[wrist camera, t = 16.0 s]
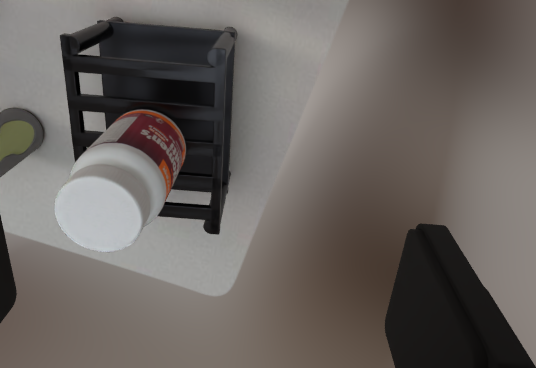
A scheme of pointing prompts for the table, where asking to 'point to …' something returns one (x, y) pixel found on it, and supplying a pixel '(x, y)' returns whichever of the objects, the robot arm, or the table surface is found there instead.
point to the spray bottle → (17, 137)
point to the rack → (162, 96)
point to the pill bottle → (121, 181)
